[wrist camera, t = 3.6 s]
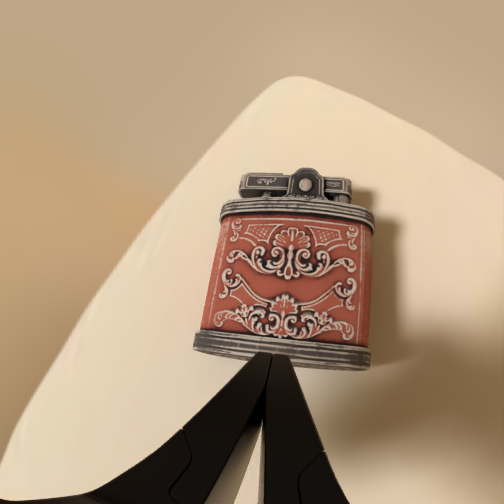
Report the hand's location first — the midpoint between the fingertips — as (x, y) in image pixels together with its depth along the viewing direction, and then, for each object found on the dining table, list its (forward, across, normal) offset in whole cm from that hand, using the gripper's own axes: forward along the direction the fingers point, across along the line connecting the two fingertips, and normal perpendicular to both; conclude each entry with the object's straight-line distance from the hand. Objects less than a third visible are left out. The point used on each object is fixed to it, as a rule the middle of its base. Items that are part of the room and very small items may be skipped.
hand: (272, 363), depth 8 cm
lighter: (+4, 0, +4) cm, 6 cm away
